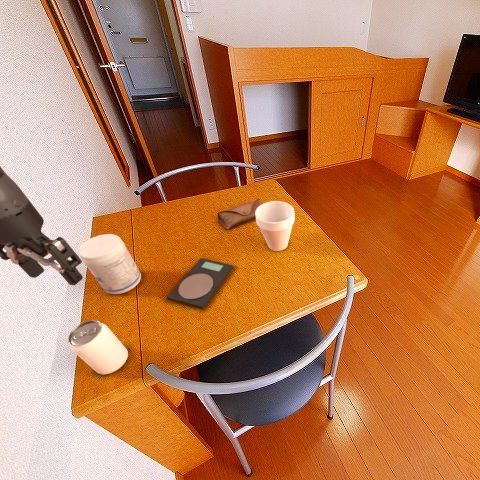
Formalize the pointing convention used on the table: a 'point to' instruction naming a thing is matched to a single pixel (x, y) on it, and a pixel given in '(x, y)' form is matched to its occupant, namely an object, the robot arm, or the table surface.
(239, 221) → the sunglasses case
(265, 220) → the cup
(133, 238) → the table surface
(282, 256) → the table surface
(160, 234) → the table surface
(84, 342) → the can
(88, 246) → the supplement tub
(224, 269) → the scale
